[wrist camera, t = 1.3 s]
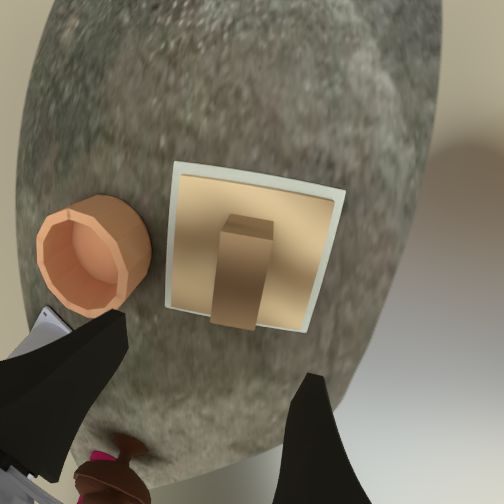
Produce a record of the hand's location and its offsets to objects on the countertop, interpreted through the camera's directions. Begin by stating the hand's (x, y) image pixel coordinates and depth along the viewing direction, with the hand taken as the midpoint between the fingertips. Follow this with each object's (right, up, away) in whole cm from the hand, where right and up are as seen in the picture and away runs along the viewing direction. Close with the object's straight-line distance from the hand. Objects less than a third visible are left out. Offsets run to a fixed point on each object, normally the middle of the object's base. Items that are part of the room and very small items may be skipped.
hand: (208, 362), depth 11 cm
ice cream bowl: (-16, -24, +24) cm, 37 cm away
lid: (+1, +4, +11) cm, 11 cm away
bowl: (-10, +5, +12) cm, 16 cm away
